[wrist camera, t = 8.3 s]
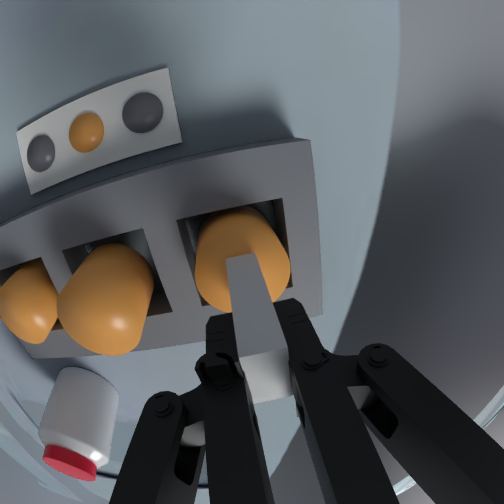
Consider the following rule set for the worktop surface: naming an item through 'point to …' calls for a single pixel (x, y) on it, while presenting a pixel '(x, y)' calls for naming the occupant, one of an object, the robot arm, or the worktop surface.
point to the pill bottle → (79, 423)
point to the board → (173, 232)
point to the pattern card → (100, 129)
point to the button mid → (107, 300)
